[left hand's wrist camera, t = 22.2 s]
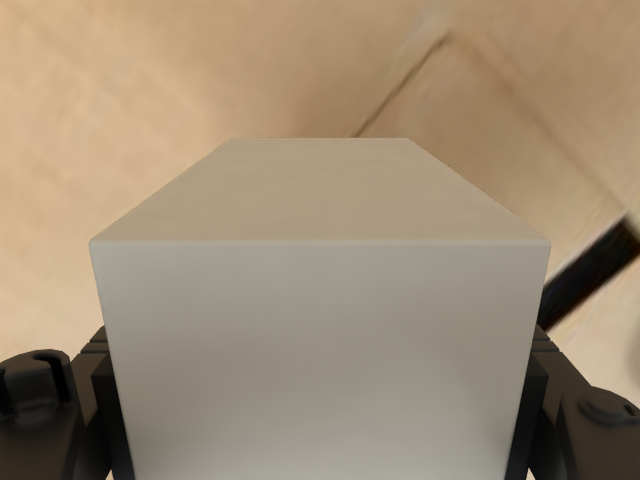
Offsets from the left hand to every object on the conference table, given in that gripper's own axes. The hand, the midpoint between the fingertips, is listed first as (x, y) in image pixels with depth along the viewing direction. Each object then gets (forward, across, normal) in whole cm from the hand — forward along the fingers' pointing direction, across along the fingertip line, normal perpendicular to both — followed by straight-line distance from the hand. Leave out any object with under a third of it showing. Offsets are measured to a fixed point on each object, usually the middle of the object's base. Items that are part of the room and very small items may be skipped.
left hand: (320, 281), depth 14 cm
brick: (+3, 0, 0) cm, 3 cm away
